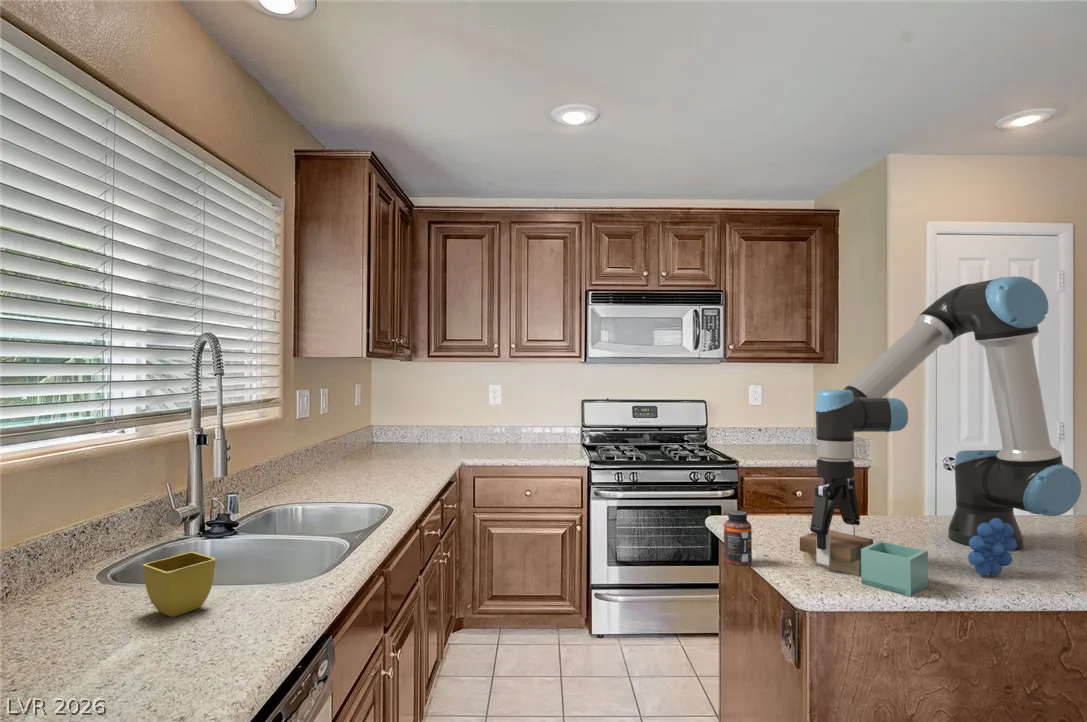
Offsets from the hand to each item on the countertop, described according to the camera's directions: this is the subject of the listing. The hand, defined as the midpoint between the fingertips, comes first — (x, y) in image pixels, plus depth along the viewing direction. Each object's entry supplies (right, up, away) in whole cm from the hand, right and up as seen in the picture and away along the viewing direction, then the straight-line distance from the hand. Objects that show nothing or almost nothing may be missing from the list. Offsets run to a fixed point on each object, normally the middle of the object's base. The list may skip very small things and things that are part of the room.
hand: (836, 558), depth 132 cm
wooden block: (0, -2, 0) cm, 2 cm away
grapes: (+29, -2, -6) cm, 30 cm away
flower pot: (-131, -2, -23) cm, 133 cm away
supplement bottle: (-21, -2, +2) cm, 21 cm away
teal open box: (+6, -1, -12) cm, 13 cm away
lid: (0, +1, 0) cm, 1 cm away
